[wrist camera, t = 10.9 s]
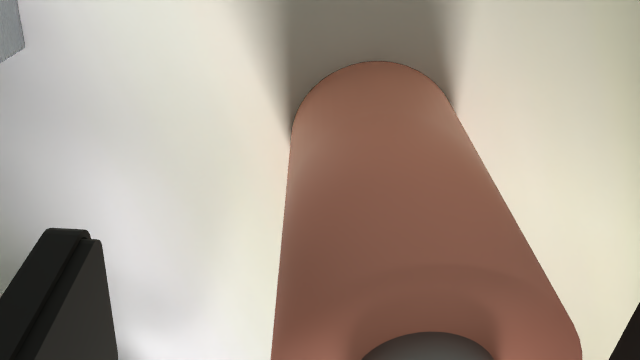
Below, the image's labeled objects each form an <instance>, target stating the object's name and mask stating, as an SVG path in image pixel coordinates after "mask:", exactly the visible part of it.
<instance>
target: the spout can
mask: <svg viewBox="0 0 640 360" xmlns="http://www.w3.org/2000/svg"><path fill="white" fill-rule="evenodd" d="M271 360H582V349H581V344H580V339H579V336H578V334H577V332H576V329H575V327H574V324H573V323H572V321H571V319H570V317H569V315H568V314H567V312H566V310H565V308H564V307H563V305H562V303H561V301H560V299H559V298H558V296H557V294H556V292H555V290H554V289H553V287H552V285H551V283H550V282H549V280H548V278H547V276H546V274H545V273H544V271H543V269H542V267H541V265H540V264H539V262H538V260H537V258H536V257H535V255H534V253H533V251H532V249H531V248H530V246H529V244H528V242H527V240H526V239H525V237H524V235H523V233H522V232H521V230H520V228H519V226H518V224H517V223H516V221H515V219H514V217H513V215H512V214H511V212H510V210H509V208H508V207H507V205H506V203H505V201H504V199H503V198H502V196H501V194H500V192H499V190H498V189H497V187H496V185H495V183H494V182H493V180H492V178H491V176H490V174H489V173H488V171H487V169H486V167H485V165H484V164H483V162H482V160H481V158H480V157H479V155H478V153H477V151H476V149H475V148H474V146H473V144H472V142H471V140H470V139H469V137H468V135H467V133H466V132H465V130H464V128H463V126H462V124H461V123H460V121H459V119H458V117H457V115H456V114H455V112H454V110H453V108H452V107H451V105H450V103H449V101H448V99H447V98H446V96H445V95H444V93H443V92H442V91H441V89H440V88H439V87H438V86H437V85H436V84H435V83H434V82H433V81H432V80H431V79H429V78H428V77H427V76H425V75H424V74H422V73H420V72H419V71H417V70H415V69H413V68H410V67H408V66H405V65H401V64H398V63H392V62H385V61H372V62H362V63H358V64H354V65H350V66H347V67H345V68H342V69H340V70H338V71H336V72H334V73H332V74H330V75H329V76H327V77H326V78H324V79H323V80H321V81H320V82H319V83H318V84H317V85H316V86H315V87H314V88H313V89H312V90H311V91H310V92H309V93H308V94H307V96H306V97H305V98H304V100H303V102H302V103H301V105H300V107H299V109H298V111H297V113H296V115H295V119H294V122H293V126H292V133H291V144H290V154H289V165H288V176H287V187H286V198H285V209H284V220H283V231H282V242H281V253H280V264H279V275H278V286H277V297H276V308H275V319H274V329H273V340H272V351H271Z"/></svg>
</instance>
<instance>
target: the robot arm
mask: <svg viewBox="0 0 640 360" xmlns="http://www.w3.org/2000/svg"><path fill="white" fill-rule="evenodd" d="M0 360H118V352H117V345H116V338H115V331H114V324H113V318H112V311H111V304H110V297H109V290H108V283H107V276H106V269H105V262H104V256H103V249H102V244H101V242H100V240H97V239H91V237H90V234H89V232H88V231H87V230H81V229H62V228H49V229H46V230H45V232H44V233H43V234H42V236H41V237H40V239H39V240H38V242H37V243H36V245H35V246H34V248H33V249H32V251H31V252H30V254H29V255H28V257H27V258H26V260H25V261H24V263H23V264H22V266H21V268H20V269H19V271H18V272H17V274H16V275H15V277H14V278H13V280H12V281H11V283H10V284H9V286H8V287H7V289H6V290H5V292H4V293H3V295H2V296H1V298H0ZM609 360H640V303H639V304H638V306H637V308H636V310H635V312H634V314H633V316H632V317H631V319H630V321H629V323H628V325H627V327H626V329H625V330H624V332H623V334H622V336H621V338H620V340H619V341H618V343H617V345H616V347H615V349H614V351H613V353H612V354H611V356H610V358H609Z"/></svg>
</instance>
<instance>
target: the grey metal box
mask: <svg viewBox="0 0 640 360" xmlns="http://www.w3.org/2000/svg"><path fill="white" fill-rule="evenodd" d="M24 48H25V45H24V39H23V33H22V28H21V22H20V17H19V11H18V6H17V0H0V63H1V62H3V61H5V60H6V59H8V58H9V57H11V56H13V55H14V54H16V53H17V52H19V51H20V50H22V49H24Z"/></svg>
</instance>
